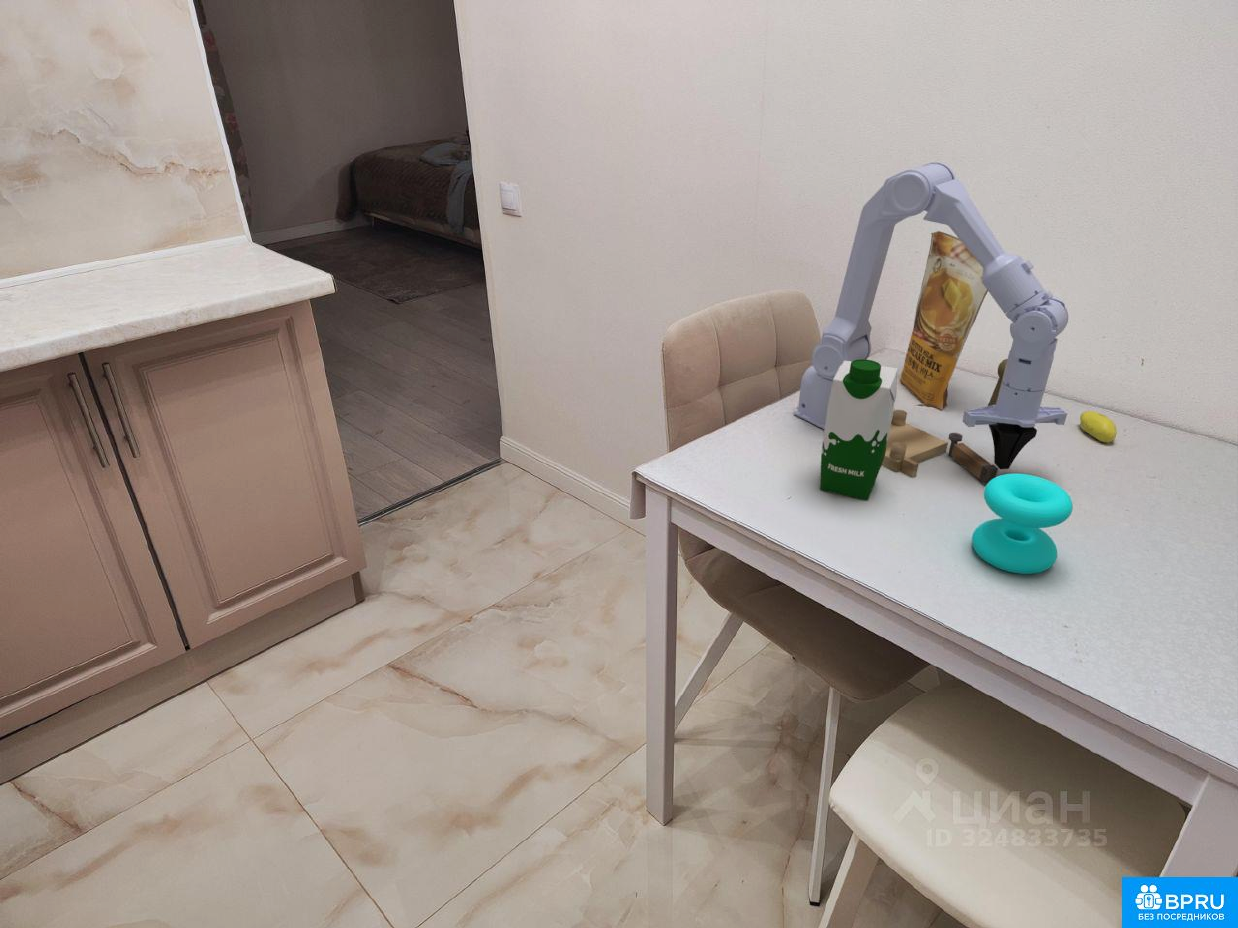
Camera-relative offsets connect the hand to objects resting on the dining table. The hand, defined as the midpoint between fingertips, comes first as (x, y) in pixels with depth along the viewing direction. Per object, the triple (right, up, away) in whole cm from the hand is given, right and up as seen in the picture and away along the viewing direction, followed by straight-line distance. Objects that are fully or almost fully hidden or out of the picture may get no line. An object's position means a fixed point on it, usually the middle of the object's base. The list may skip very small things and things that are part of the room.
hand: (1001, 465), depth 120 cm
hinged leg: (-4, -1, +1) cm, 4 cm away
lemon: (+22, +5, +12) cm, 25 cm away
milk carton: (-24, -3, -2) cm, 24 cm away
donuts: (-7, -12, -18) cm, 22 cm away
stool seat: (-12, +2, +7) cm, 15 cm away
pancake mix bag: (-1, +14, +28) cm, 31 cm away
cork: (+8, +8, +17) cm, 21 cm away
